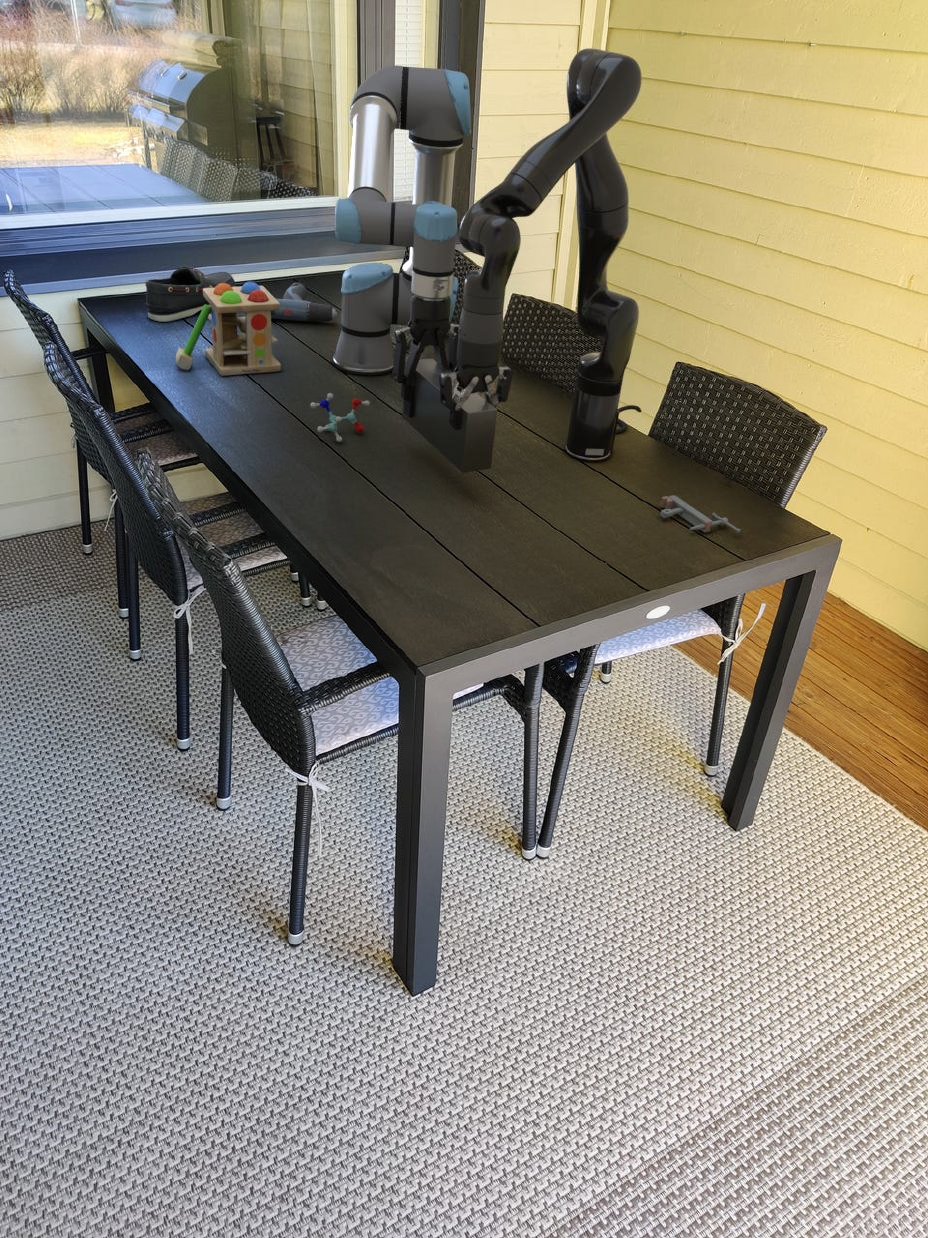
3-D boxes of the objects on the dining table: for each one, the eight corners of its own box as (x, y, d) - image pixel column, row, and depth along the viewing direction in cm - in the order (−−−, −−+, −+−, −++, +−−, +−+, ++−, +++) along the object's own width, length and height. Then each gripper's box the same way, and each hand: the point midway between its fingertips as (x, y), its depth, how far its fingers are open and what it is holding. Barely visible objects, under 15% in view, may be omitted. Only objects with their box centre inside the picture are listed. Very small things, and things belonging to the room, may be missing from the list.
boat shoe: (254, 300, 273) (252, 262, 268) (165, 323, 249) (160, 282, 244) (221, 292, 279) (218, 254, 273) (130, 314, 255) (125, 273, 250)
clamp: (649, 498, 185) (689, 490, 190) (647, 509, 187) (687, 500, 191) (702, 536, 175) (743, 526, 179) (699, 546, 176) (740, 536, 181)
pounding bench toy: (183, 379, 220) (176, 299, 210) (169, 357, 231) (162, 280, 221) (282, 371, 230) (280, 294, 220) (264, 350, 240) (262, 276, 230)
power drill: (344, 304, 276) (335, 327, 259) (277, 298, 275) (264, 321, 258) (344, 285, 273) (335, 306, 256) (277, 279, 272) (264, 300, 255)
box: (401, 417, 196) (404, 360, 190) (428, 413, 199) (432, 358, 192) (462, 473, 178) (467, 413, 171) (491, 468, 180) (497, 409, 174)
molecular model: (357, 434, 195) (340, 385, 194) (317, 449, 199) (300, 401, 197) (380, 430, 206) (364, 384, 204) (342, 444, 209) (326, 399, 208)
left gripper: (392, 304, 174) (387, 426, 187) (485, 298, 182) (474, 414, 195) (375, 292, 180) (372, 411, 193) (467, 286, 188) (457, 400, 201)
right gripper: (453, 345, 162) (445, 439, 172) (527, 338, 168) (516, 429, 178) (433, 330, 168) (427, 422, 177) (505, 324, 174) (496, 413, 183)
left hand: (423, 412), depth 194 cm, fingers closed on box, 6 cm apart
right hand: (471, 425), depth 177 cm, fingers closed on box, 6 cm apart
